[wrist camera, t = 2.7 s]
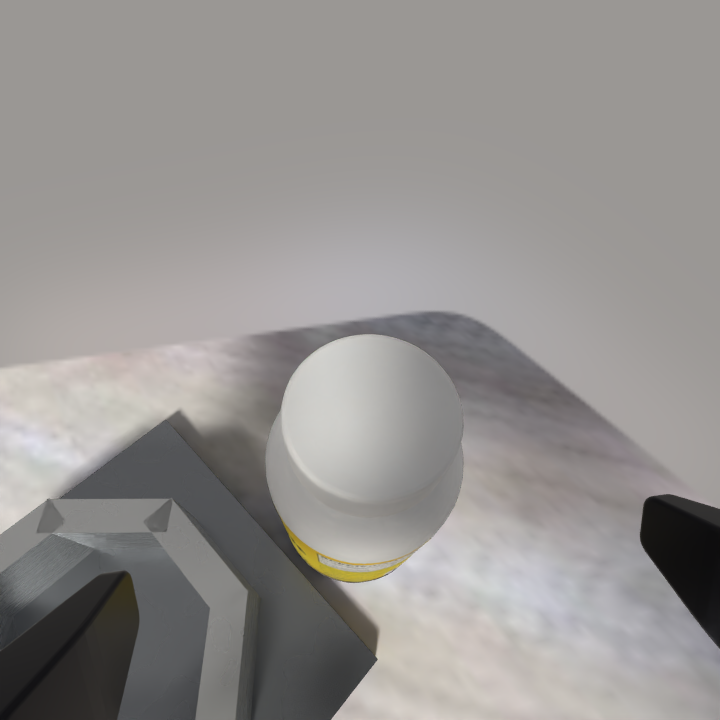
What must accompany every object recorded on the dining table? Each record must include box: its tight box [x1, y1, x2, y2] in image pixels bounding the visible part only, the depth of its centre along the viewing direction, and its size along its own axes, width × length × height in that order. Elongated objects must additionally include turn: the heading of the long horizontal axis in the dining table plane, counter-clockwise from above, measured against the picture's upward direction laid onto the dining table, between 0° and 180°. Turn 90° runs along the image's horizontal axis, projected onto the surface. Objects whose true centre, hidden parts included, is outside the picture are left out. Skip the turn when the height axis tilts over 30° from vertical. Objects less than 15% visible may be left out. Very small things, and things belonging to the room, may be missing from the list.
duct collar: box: [0, 420, 378, 720], centre depth 13 cm, size 12×12×4 cm
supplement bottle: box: [265, 334, 464, 583], centre depth 14 cm, size 5×5×10 cm
